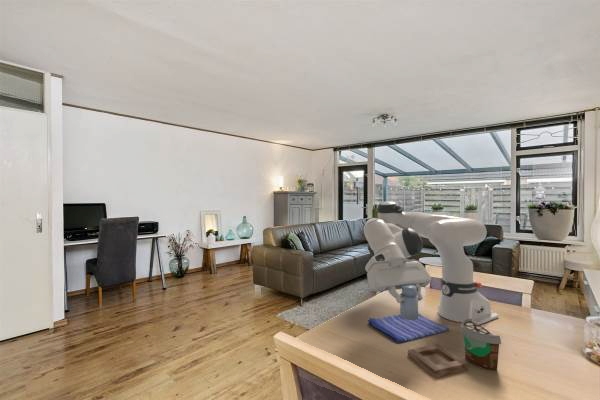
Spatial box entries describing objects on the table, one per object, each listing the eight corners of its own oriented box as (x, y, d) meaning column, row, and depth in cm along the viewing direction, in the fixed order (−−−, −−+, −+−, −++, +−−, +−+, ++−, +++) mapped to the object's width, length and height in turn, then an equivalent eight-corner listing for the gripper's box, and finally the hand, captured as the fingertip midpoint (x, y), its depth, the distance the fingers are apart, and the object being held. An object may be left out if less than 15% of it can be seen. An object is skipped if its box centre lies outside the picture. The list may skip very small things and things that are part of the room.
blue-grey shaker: (410, 312, 89) (410, 283, 89) (421, 318, 85) (421, 288, 84) (396, 314, 88) (396, 284, 88) (407, 321, 83) (407, 290, 83)
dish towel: (365, 324, 109) (365, 317, 109) (413, 314, 119) (413, 307, 119) (397, 346, 94) (397, 337, 94) (449, 332, 103) (449, 324, 103)
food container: (451, 350, 90) (451, 318, 89) (470, 349, 90) (470, 317, 90) (479, 374, 77) (479, 337, 77) (501, 373, 78) (501, 336, 78)
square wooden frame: (437, 349, 90) (437, 344, 90) (467, 369, 80) (467, 363, 80) (407, 356, 87) (407, 350, 87) (435, 377, 76) (435, 370, 76)
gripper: (413, 263, 100) (434, 301, 91) (360, 268, 94) (376, 309, 85) (422, 253, 95) (445, 292, 86) (367, 257, 89) (385, 300, 80)
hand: (410, 301), depth 85 cm, fingers closed on blue-grey shaker, 5 cm apart
